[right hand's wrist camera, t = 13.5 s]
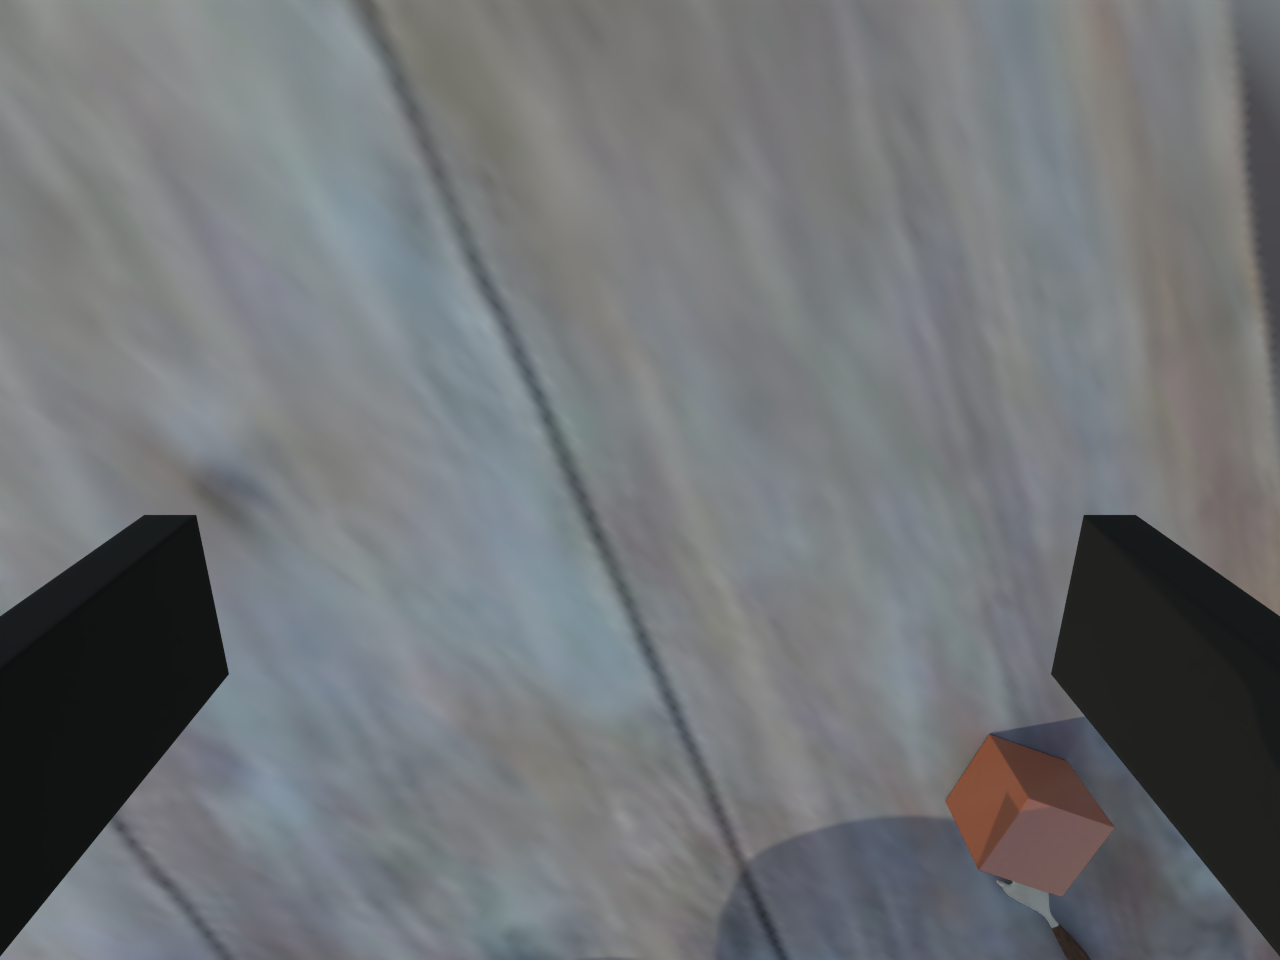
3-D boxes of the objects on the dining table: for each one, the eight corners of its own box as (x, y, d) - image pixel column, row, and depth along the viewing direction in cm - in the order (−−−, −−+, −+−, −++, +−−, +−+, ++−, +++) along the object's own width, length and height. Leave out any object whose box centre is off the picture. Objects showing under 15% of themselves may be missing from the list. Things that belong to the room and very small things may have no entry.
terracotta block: (989, 733, 46) (1029, 798, 41) (1067, 760, 46) (1115, 827, 42) (944, 800, 47) (978, 870, 43) (1021, 826, 48) (1062, 897, 43)
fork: (1093, 1013, 53) (1110, 1044, 51) (980, 856, 48) (993, 884, 47) (1131, 997, 53) (1149, 1027, 51) (1020, 836, 48) (1036, 863, 46)
